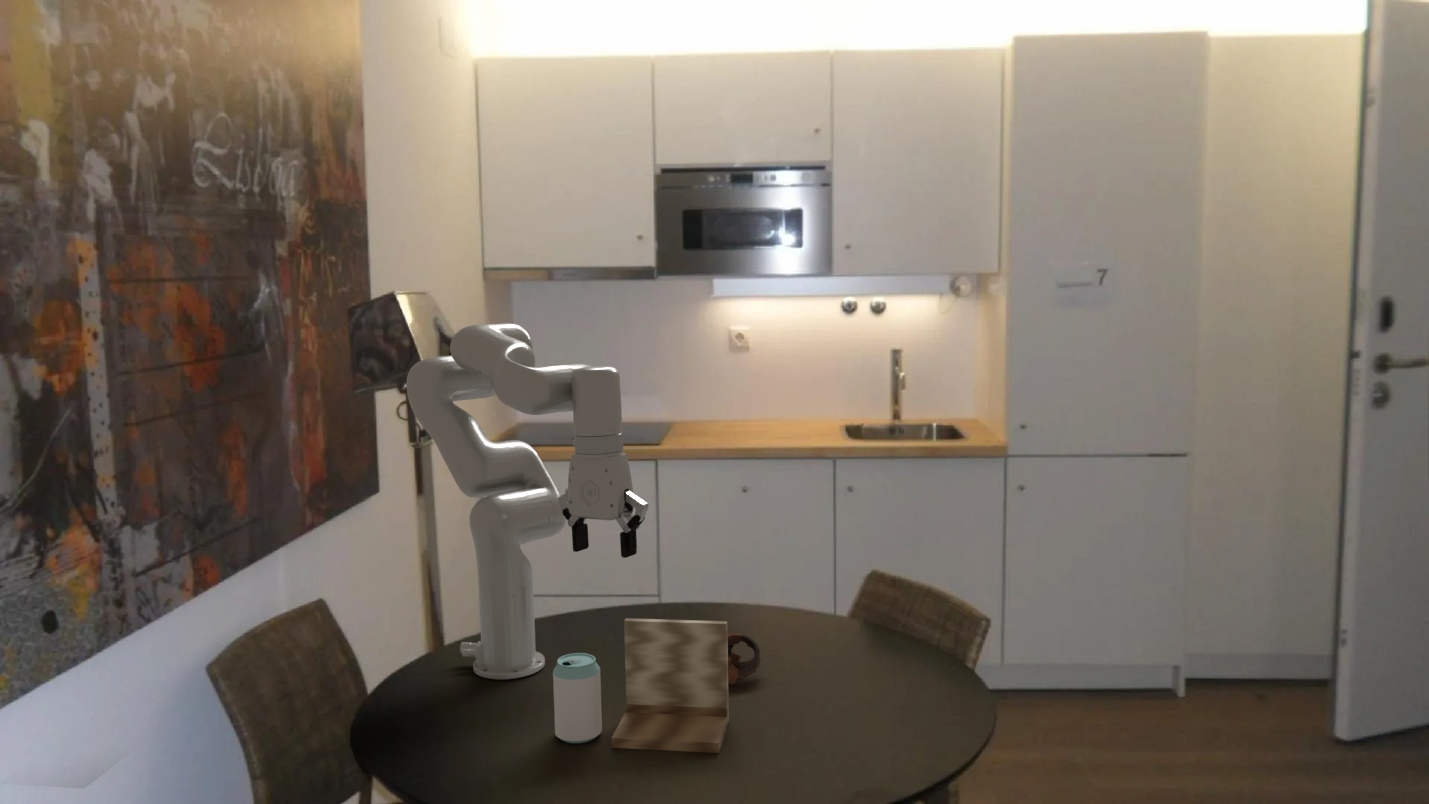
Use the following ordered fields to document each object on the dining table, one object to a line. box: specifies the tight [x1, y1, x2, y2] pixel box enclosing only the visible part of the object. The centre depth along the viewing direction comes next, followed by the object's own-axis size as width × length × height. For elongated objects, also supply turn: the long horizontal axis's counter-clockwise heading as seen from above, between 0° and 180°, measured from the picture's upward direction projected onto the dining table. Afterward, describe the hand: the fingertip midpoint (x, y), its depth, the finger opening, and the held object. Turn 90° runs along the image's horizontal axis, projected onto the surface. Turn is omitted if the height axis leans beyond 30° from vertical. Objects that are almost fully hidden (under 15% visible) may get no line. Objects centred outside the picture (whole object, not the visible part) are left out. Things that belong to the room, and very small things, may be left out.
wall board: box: [610, 617, 730, 754], centre depth 157 cm, size 16×11×16 cm
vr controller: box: [727, 632, 762, 686], centre depth 181 cm, size 12×10×8 cm
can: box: [552, 652, 603, 744], centre depth 158 cm, size 7×7×12 cm
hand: (604, 552), depth 165 cm, fingers open, 9 cm apart
